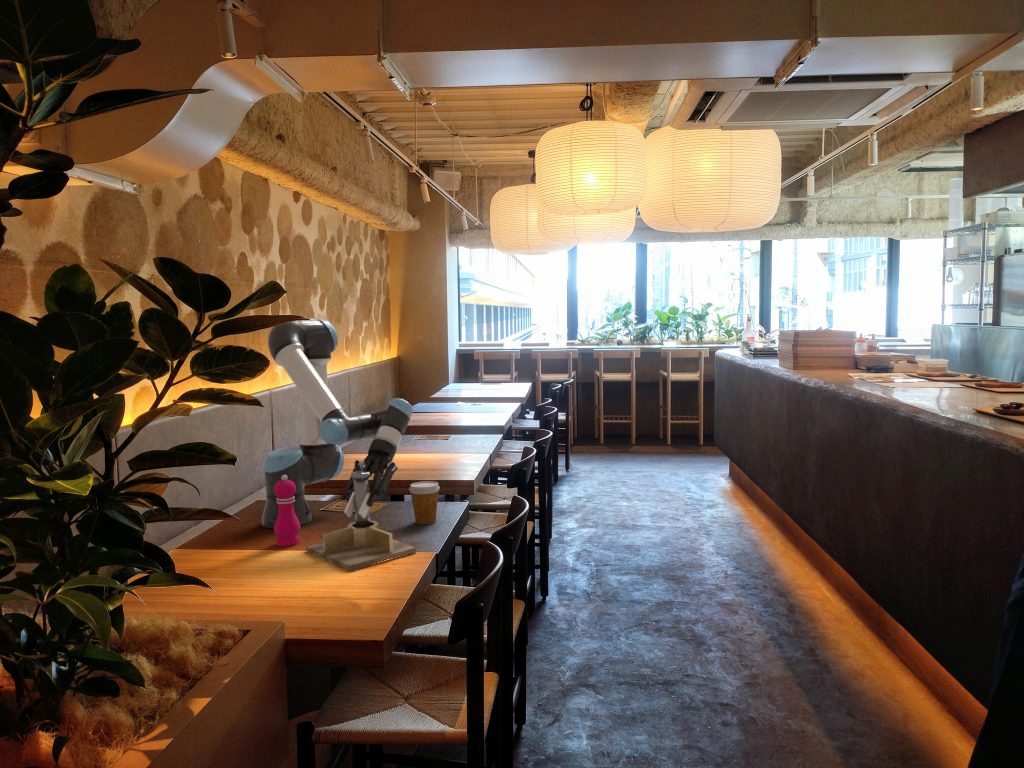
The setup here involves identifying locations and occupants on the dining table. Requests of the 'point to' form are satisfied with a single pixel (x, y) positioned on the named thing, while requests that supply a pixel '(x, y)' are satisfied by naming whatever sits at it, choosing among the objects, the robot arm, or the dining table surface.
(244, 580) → the dining table surface
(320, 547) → the mounting board
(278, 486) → the pepper mill
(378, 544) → the beige ribbed socket
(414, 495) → the disposable coffee cup
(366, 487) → the pin
